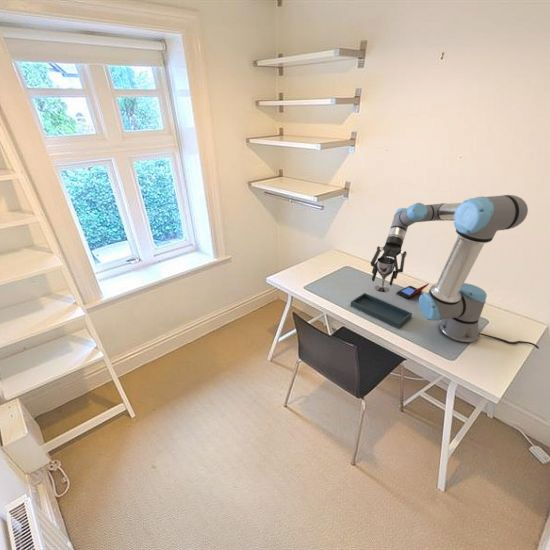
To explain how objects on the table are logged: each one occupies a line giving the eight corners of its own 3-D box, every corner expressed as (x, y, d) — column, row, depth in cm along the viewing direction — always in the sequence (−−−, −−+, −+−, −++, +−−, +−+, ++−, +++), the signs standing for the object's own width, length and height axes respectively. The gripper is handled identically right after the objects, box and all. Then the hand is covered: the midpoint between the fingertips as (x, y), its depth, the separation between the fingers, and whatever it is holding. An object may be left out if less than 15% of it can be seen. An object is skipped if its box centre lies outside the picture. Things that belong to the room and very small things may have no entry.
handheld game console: (409, 287, 178) (412, 275, 174) (427, 295, 170) (430, 283, 166) (395, 293, 171) (397, 281, 168) (413, 302, 163) (415, 290, 160)
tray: (411, 318, 151) (412, 313, 150) (398, 328, 144) (399, 323, 143) (363, 297, 169) (364, 292, 167) (350, 306, 162) (351, 301, 160)
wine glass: (391, 293, 147) (396, 264, 140) (374, 292, 148) (378, 263, 141) (389, 285, 153) (394, 257, 147) (372, 284, 155) (376, 256, 148)
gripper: (417, 246, 149) (404, 290, 144) (375, 238, 158) (361, 279, 154) (417, 239, 142) (403, 285, 138) (373, 232, 152) (359, 274, 147)
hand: (381, 282), depth 146 cm, fingers closed on wine glass, 7 cm apart
